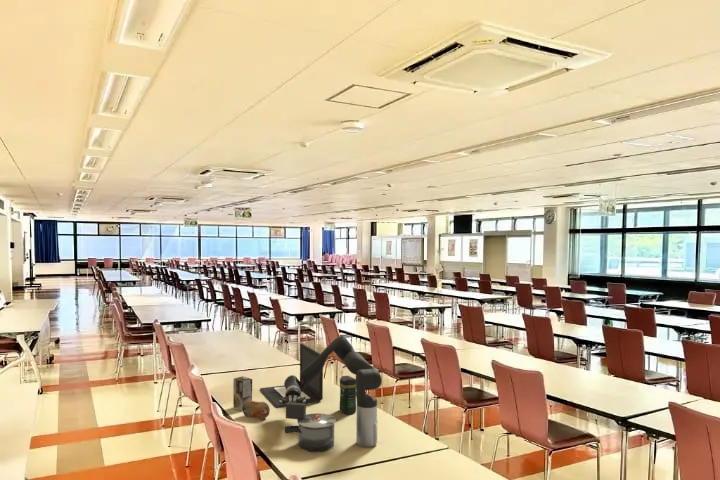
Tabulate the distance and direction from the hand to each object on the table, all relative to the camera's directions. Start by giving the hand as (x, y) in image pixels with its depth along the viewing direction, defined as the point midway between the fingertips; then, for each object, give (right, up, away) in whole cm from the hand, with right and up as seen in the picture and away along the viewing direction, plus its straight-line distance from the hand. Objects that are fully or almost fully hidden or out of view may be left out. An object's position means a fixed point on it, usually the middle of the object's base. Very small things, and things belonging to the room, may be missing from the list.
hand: (292, 406), depth 236 cm
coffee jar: (+24, -16, +41) cm, 51 cm away
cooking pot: (+8, -16, -5) cm, 19 cm away
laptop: (-10, -16, +68) cm, 71 cm away
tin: (-22, -16, +30) cm, 41 cm away
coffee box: (-33, -16, +45) cm, 58 cm away
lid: (+9, -5, -4) cm, 11 cm away
